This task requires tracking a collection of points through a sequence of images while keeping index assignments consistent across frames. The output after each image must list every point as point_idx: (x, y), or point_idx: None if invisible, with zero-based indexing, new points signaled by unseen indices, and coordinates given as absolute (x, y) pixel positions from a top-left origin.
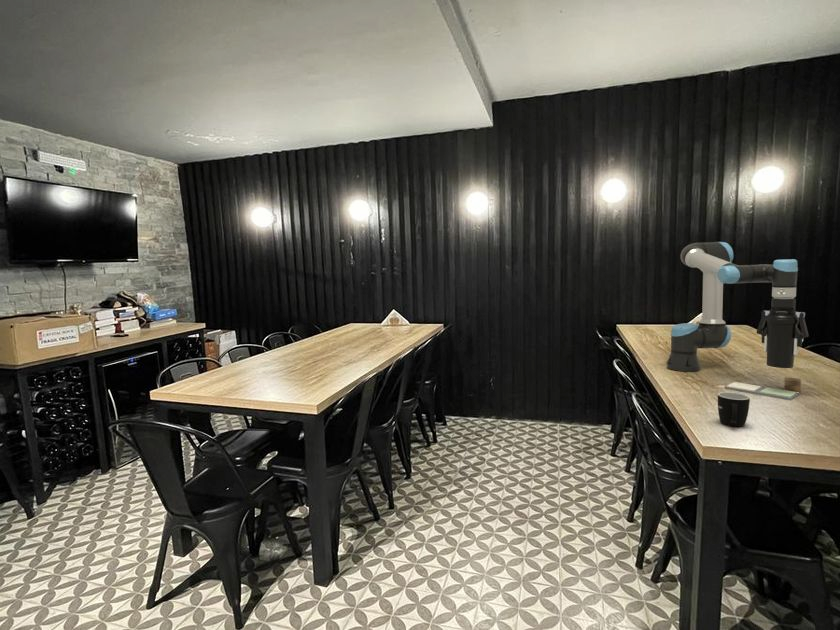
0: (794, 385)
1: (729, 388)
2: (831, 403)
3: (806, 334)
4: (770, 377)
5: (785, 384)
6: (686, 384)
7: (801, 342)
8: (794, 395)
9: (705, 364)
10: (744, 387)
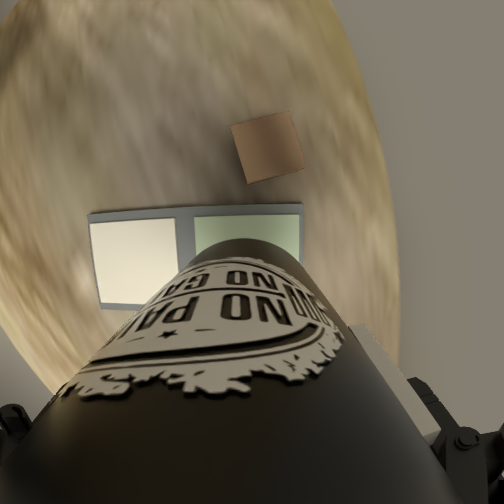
0: (281, 174)
1: (115, 308)
2: (395, 250)
3: (497, 484)
4: (152, 20)
5: (249, 183)
6: (39, 326)
7: (435, 413)
8: (300, 260)
9: (3, 50)
10: (143, 286)
